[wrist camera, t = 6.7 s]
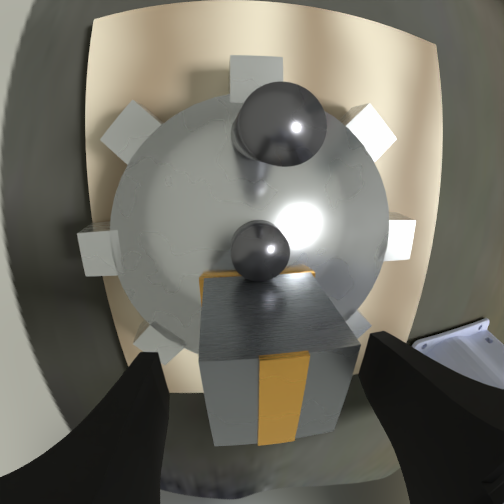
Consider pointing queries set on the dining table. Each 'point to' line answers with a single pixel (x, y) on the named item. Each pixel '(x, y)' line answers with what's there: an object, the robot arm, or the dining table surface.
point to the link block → (272, 359)
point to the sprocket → (244, 202)
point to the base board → (294, 70)
